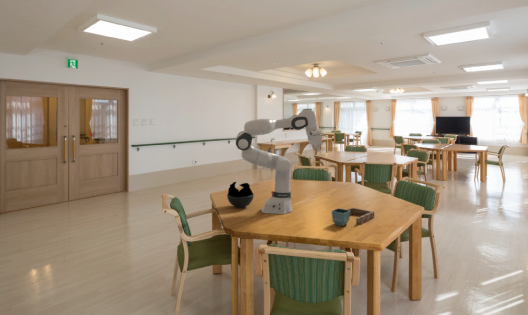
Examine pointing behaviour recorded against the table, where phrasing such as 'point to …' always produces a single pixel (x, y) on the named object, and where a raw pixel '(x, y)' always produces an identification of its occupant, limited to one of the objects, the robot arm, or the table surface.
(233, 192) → the bowl of black rocks
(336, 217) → the flower pot
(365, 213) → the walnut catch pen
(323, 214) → the table surface
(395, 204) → the table surface
